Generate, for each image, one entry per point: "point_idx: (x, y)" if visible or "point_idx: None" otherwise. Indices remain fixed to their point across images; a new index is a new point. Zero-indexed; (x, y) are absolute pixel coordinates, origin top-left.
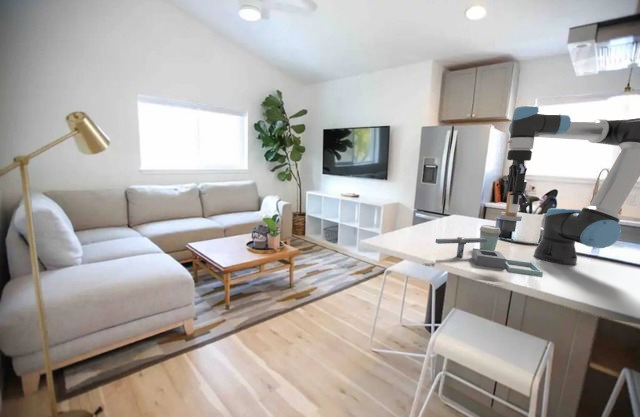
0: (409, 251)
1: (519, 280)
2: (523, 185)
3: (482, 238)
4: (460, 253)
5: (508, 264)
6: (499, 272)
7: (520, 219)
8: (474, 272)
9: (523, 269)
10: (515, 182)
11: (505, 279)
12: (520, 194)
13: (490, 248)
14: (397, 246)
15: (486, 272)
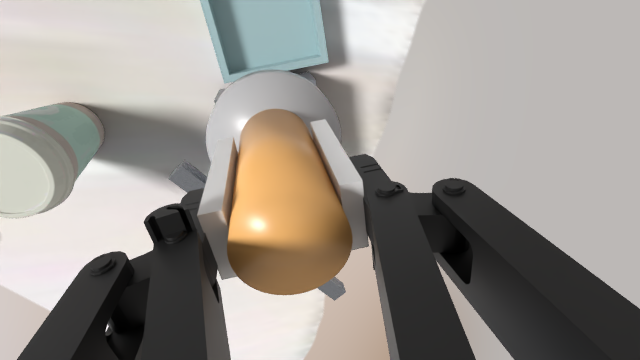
0: (290, 312)
1: (373, 28)
2: (548, 242)
3: (190, 182)
4: None
5: (292, 63)
6: (328, 86)
7: (305, 79)
8: (372, 152)
9: (320, 12)
10: (520, 357)
11: (386, 71)
12: (400, 185)
13: (91, 125)
14: (264, 344)
15: (352, 122)
